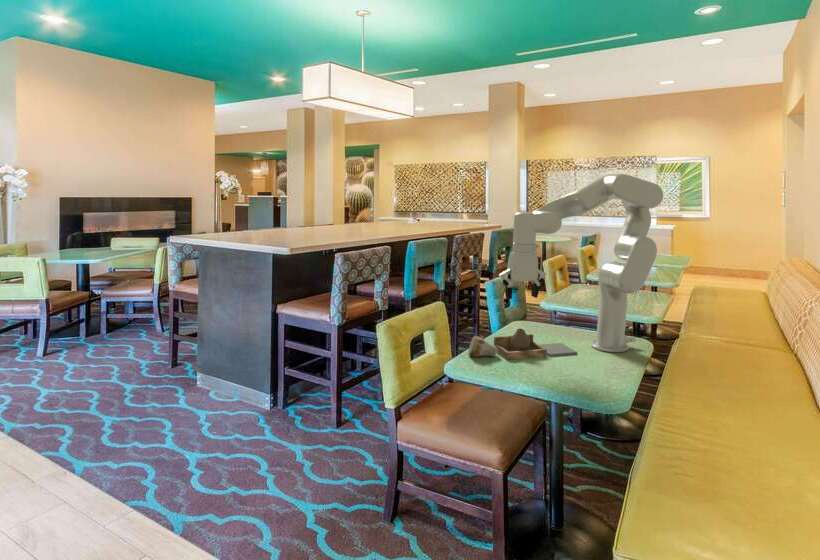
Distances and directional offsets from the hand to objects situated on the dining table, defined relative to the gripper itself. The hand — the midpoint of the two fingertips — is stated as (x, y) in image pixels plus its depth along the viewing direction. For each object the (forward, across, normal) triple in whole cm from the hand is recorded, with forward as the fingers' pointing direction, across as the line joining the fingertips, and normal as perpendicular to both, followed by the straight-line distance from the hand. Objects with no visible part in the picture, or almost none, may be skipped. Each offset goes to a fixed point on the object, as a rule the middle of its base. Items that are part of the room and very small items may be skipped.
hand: (521, 297), depth 183 cm
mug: (+20, +14, -1) cm, 25 cm away
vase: (+20, 0, 0) cm, 20 cm away
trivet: (+20, -14, 0) cm, 25 cm away
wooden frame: (+20, 0, 0) cm, 20 cm away
